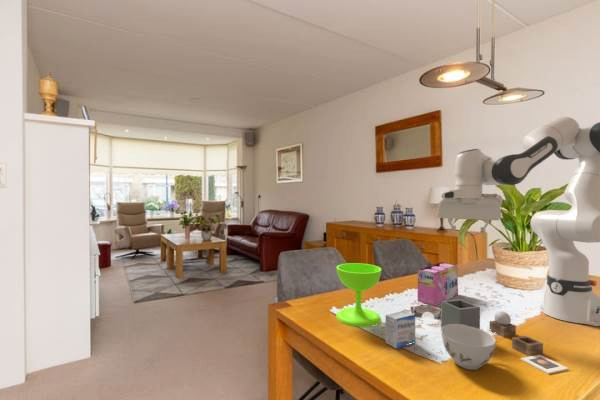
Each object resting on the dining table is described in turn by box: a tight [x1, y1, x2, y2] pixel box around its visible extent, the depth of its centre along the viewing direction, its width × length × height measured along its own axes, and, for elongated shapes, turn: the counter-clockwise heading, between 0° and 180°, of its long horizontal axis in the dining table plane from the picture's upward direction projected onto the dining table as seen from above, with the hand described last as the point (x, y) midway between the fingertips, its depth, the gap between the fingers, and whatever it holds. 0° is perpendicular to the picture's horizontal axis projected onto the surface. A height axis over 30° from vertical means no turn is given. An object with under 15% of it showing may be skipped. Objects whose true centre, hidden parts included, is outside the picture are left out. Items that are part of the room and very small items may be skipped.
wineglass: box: [335, 262, 382, 328], centre depth 110 cm, size 16×16×18 cm
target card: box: [520, 354, 569, 375], centre depth 80 cm, size 7×7×1 cm
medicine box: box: [385, 310, 416, 350], centre depth 91 cm, size 8×4×9 cm, turn 117°
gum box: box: [417, 262, 459, 307], centre depth 133 cm, size 24×8×14 cm, turn 131°
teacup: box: [441, 324, 497, 371], centre depth 80 cm, size 15×12×8 cm
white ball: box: [494, 310, 512, 326], centre depth 98 cm, size 4×4×4 cm
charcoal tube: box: [440, 298, 481, 332], centre depth 96 cm, size 8×8×10 cm
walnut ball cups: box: [489, 320, 544, 357], centre depth 92 cm, size 9×16×3 cm, turn 17°
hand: (467, 231), depth 111 cm, fingers open, 8 cm apart
